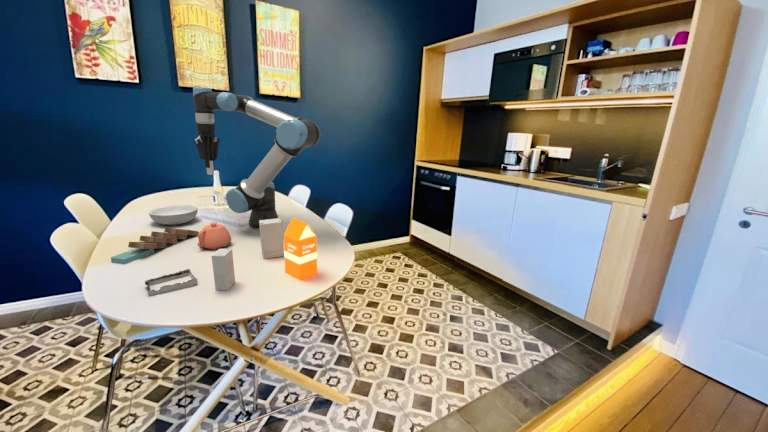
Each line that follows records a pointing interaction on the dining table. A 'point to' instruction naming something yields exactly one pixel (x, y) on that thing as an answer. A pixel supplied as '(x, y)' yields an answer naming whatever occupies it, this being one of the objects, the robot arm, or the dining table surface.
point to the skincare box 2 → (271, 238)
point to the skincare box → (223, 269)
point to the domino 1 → (131, 255)
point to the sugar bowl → (214, 236)
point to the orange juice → (300, 250)
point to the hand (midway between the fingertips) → (210, 174)
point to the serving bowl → (173, 214)
